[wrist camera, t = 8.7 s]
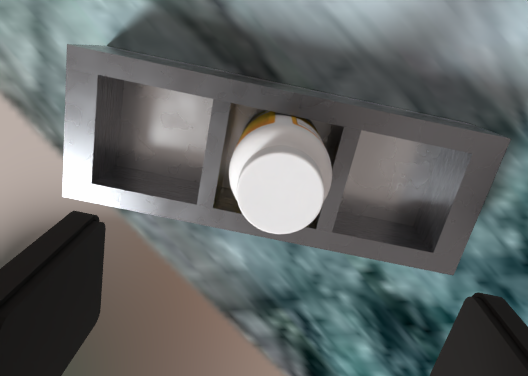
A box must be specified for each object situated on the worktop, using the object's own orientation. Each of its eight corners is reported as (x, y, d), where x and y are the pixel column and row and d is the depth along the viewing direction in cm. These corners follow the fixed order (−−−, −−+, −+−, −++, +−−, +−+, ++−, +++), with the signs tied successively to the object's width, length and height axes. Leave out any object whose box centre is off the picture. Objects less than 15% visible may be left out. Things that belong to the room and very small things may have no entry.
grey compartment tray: (106, 45, 26) (67, 44, 21) (470, 123, 27) (511, 138, 22) (97, 172, 29) (62, 196, 24) (425, 239, 30) (453, 275, 25)
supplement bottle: (238, 180, 28) (218, 244, 18) (242, 103, 26) (221, 131, 17) (315, 186, 27) (333, 253, 18) (324, 109, 26) (348, 140, 16)
